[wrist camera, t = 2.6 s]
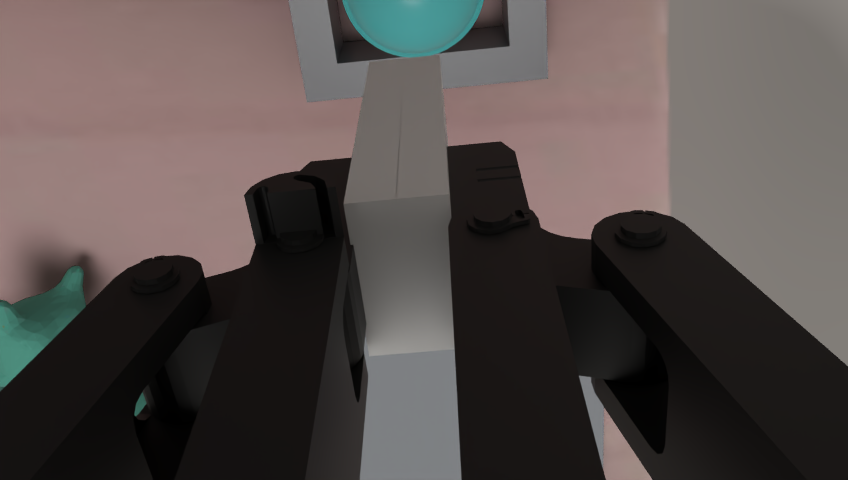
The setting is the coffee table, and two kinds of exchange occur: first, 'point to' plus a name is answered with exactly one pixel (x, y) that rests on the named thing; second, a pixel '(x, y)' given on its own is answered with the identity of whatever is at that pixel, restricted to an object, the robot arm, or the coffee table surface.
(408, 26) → the dome
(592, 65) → the coffee table surface
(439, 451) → the mat
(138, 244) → the coffee table surface
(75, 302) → the toy
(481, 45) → the dome housing
